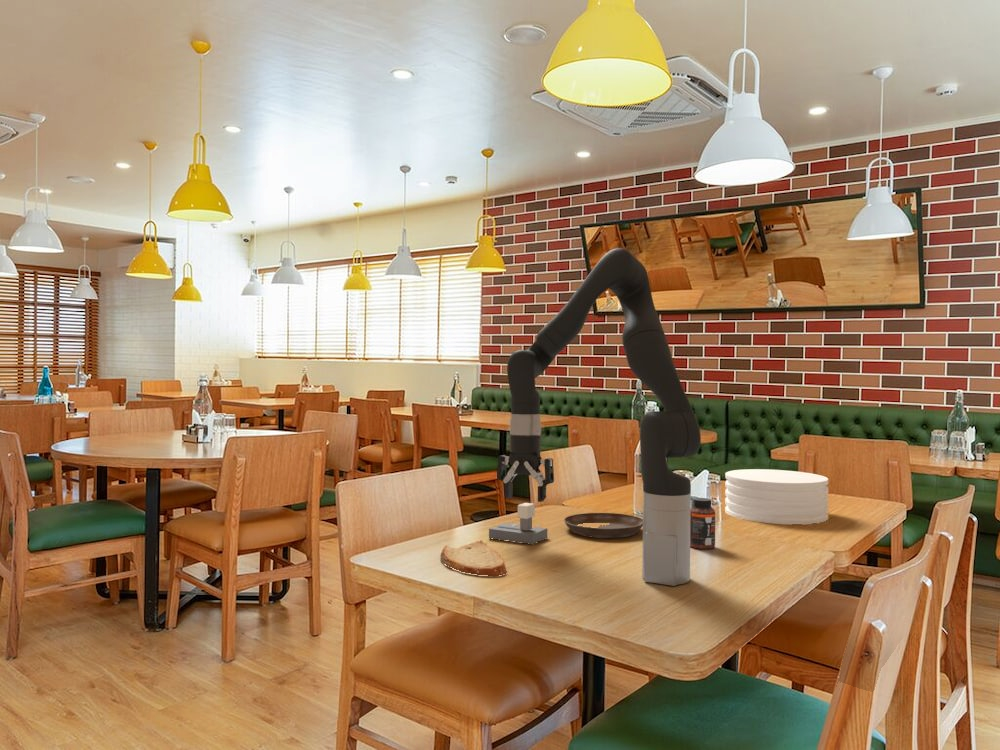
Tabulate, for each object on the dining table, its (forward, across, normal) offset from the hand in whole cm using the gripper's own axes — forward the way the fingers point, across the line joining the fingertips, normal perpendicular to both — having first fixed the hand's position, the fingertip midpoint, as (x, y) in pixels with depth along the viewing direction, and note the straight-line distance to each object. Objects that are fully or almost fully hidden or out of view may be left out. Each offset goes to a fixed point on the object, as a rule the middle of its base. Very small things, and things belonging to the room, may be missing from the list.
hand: (525, 499), depth 171 cm
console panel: (+10, -3, +2) cm, 11 cm away
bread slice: (+11, 0, -22) cm, 25 cm away
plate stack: (+10, +48, +67) cm, 83 cm away
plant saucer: (+10, +13, +21) cm, 26 cm away
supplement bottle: (+10, +38, +16) cm, 43 cm away
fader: (+7, 0, +1) cm, 7 cm away
